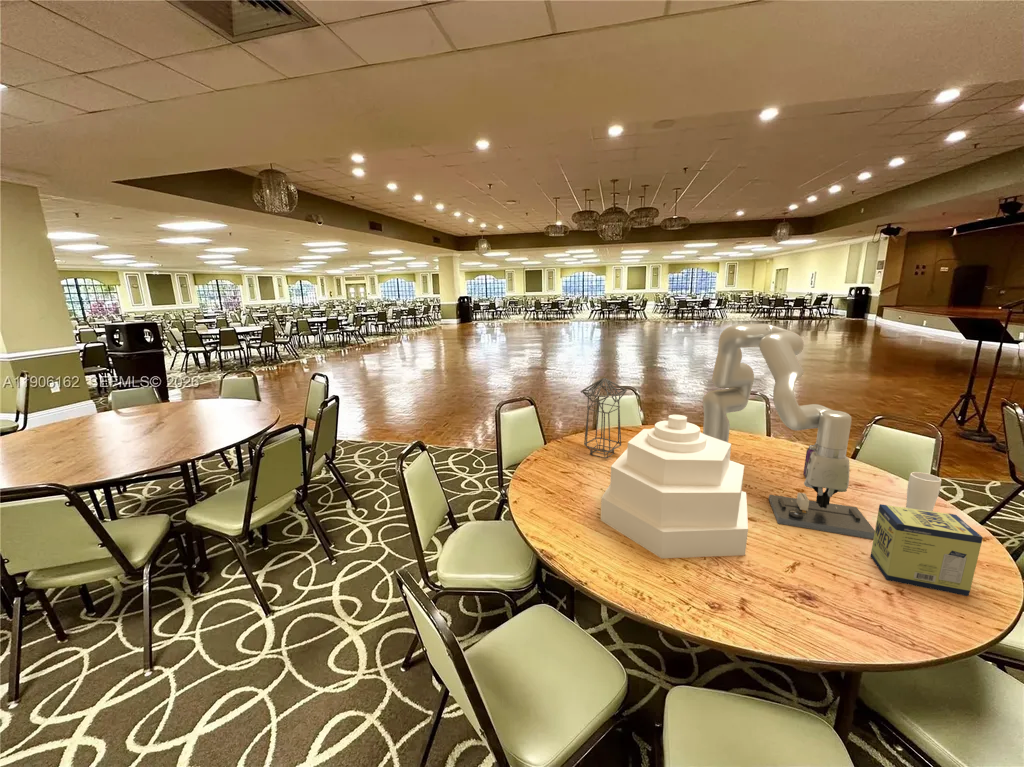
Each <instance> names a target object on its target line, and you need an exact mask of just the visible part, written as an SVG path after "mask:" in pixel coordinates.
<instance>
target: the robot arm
mask: <svg viewBox="0 0 1024 767" xmlns="http://www.w3.org/2000/svg"><path fill="white" fill-rule="evenodd" d="M717 346H718V349H717V355H716V359H715V363H714V368H713V372H712V379H711V380H712V384H713V386H714V387H717V388H719V389H715V390H711V391H708V392H706V394H705V395H704V396H703V398H702V408H703V424H702V426H703V427H702V433H703V434H705V435H708V436H710V437H713V438H716V439H719V440H722V441H725V442H728V443H729V437H730V420H729V419H728V416H727V414H728V413H729V414H730V413H734V412H741V411H743V410H744V409H745V408H746V407H747V405H748V402H749V400H750V396H751V393H752V389H753V385H754V381H755V375H754V374H755V372H754V371H753V368H752V367H751V365H749V364H748V363H744V362H742V359H743V353H742V350H741V349H742V348H759V350H760V353H761V355H762V356H763V359H764V361H765V363H766V366H767V367H768V369H769V371H770V373H771V375H772V377H773V379H774V386H773V394H772V400H773V406H774V408H775V410H776V412H777V415H778V416H779V418H780V420H781V422H782V423H783V424H784V425H785V426H786V427H787V428H788V429H790V430H792V431H804V430H810V429H817V434H816V442H815V443H814V444H813V445H812V444H810V445H809V446H810V449H811V450H814V451H815V452H812V454H811V456H810V459H809V462H808V466H807V470H806V476H805V475H804V477H805V480H804V482H803V485H804V486H805V487H806V488H810V489H813V490H814V491H815V492H816V499H815V501H816V503H818V505H819V506H820V508H822V507H823V508H827V505H829V503H831V502H830V500H831V497H833V495H835V494H837V493H844V492H847V490H848V488H849V486H850V483H849V482H850V468H851V467H850V466H851V465H850V458H849V457H848V456H847V450H848V443H849V438H850V432H851V426H852V416H851V415H850V414H849V413H848V412H845V411H842V410H835V409H834V410H833V409H831V408H830V407H826V406H824V405H822V404H818V403H812V404H811V403H810V404H803V405H799V403H798V401H797V398H796V397H795V393H794V392H795V389H794V387H795V385H796V382H797V381H798V380H799V379H800V378H801V377H802V376H803V375H804V372H805V371H804V368H803V367H802V366H801V363H800V361H799V359H798V358H797V356H798V355H799V354H801V352H802V351H804V347H805V344H804V340H803V338H802V336H801V335H799V334H798V333H796V332H795V331H793V330H792V331H791V330H790V329H785V328H782V327H780V326H775V325H773V324H768V323H745V324H735V325H731V326H728V327H726V328H725V329H724V330H723V331H722V332H721V334H720V335H719V338H718V345H717Z"/></svg>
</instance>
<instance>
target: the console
mask: <svg viewBox="0 0 1024 767" xmlns="http://www.w3.org/2000/svg"><path fill="white" fill-rule="evenodd" d="M768 502H769V505H770V507H771V509H772V512H773V514H774V517H775V520H776V521H777V524H778V525H784V526H791V527H797V528H803V529H809V530H816V531H821V532H828V533H833V534H837V535H845V536H850V537H857V538H862V539H867V540H873V539H874V533H875V528H874V527H873V526H872V524H870V522H869V521H868V520H867V519H866V517H865V516H864V515H863V514H862V512H861V510H860V509H859V508H858V507H857V506H852V505H843V504H837V503H831V502H829V505H827V508H823V507H822V508H820V506H819V505H818V503H816V500H810V499H809V506H808V511H806V510H800V508H799V506H798V504H797V497H789V496H783V495H775V494H769V495H768Z"/></svg>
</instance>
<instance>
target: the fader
mask: <svg viewBox="0 0 1024 767" xmlns="http://www.w3.org/2000/svg"><path fill="white" fill-rule="evenodd" d="M796 498H797V504H798V506H799V508H800V510H806V511H808V506H809V500H810V499H809V498H808V496H807V494H806V493H804V492H797V497H796Z"/></svg>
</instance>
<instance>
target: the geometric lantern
mask: <svg viewBox="0 0 1024 767" xmlns="http://www.w3.org/2000/svg"><path fill="white" fill-rule="evenodd" d="M603 384H604V385H603ZM615 386H617V387H618V388H616V387H615ZM598 388H599V389H598ZM597 389H598V391H597ZM601 389H603V390H604V391H605V392H606V395H599V393H600V390H601ZM590 391H591V392H590ZM596 391H597V393H596ZM614 391H615V392H614ZM627 391H628V390H627V389H626V388H625V387H623V386H620V385H619V384H617V383H615V382H613V381H612V380H610V379H608V378H606V377H603V378H600V379H599V380H597V381H595V382H594V383H592V384H590V385H589V386H587V387H585V388H583V389H582V390H580V393H581V394H583V395H584V396H585V397H587V406H586V409H587V412H586V414H587V415H586V424H585V433H584V441H583V442H584V443H583V444H584V446H585V447H586V449H589V451H590V452H589V455H591V456H593V457H597V458H602V459H608V458H610V457H611V456H612V455H614V454H615V450H616V449H618V448H619V447H621V446H622V435H621V434H622V433H621V430H622V429H621V410H620V408H621V406H620V400H621V399H622V397H624V395H625V394H626V393H627ZM595 393H596V395H595ZM592 397H595V400H594V399H592ZM610 397H611V399H612V400H613V404H610V403H609V404H608V403H605V401H606V400H607V399H608V398H610ZM598 398H601V399H598ZM601 401H602V402H601ZM590 402H591V404H589V403H590ZM595 402H596V403H595ZM593 403H594V404H593ZM616 403H617V405H615V404H616ZM589 405H590V406H589ZM595 405H597V410H596V409H593V408H592V409H591V407H594V406H595ZM604 405H606V406H609V407H610V406H611V408H610V409H609V411H607V412H606V411H605V409H604ZM614 407H615V409H613V408H614ZM600 409H601V411H600ZM612 409H613V410H612ZM589 411H593V412H596V413H597V414H596V427H595V436H594V438H592V439H591V440H589V441H588V434H589V432H588V431H589V415H590V414H589V413H590V412H589ZM615 411H617V441H616V440H613V439H611V429H610V428H611V427H610V426H611V424H610V420H611V419H610V413H612V412H615ZM599 413H601V421H600V422H601V425H600V428H601V429H600V430H601V431H600V437H598V425H599ZM606 414H607V420H608V421H607V423H608V424H607V425H608V426H607V427H608V438H605V437H606V436H605V433H606V430H605V428H606ZM597 439H599V444H598V440H597ZM605 440H606V441H608V446H607V445H605ZM593 441H595V442H596V445H595V446H594V447H592V446H589V445H588V444H590V443H591V442H593ZM601 442H603V443H602V445H601ZM611 442H612V443H616V444H615V445H614V446H613V447H612V446H611ZM601 447H602V448H601ZM605 448H607V449H608V450H606V449H605ZM594 453H596V454H594ZM597 453H598V454H601V455H604V456H600V455H597ZM610 453H611V454H610ZM609 454H610V455H609Z"/></svg>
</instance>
